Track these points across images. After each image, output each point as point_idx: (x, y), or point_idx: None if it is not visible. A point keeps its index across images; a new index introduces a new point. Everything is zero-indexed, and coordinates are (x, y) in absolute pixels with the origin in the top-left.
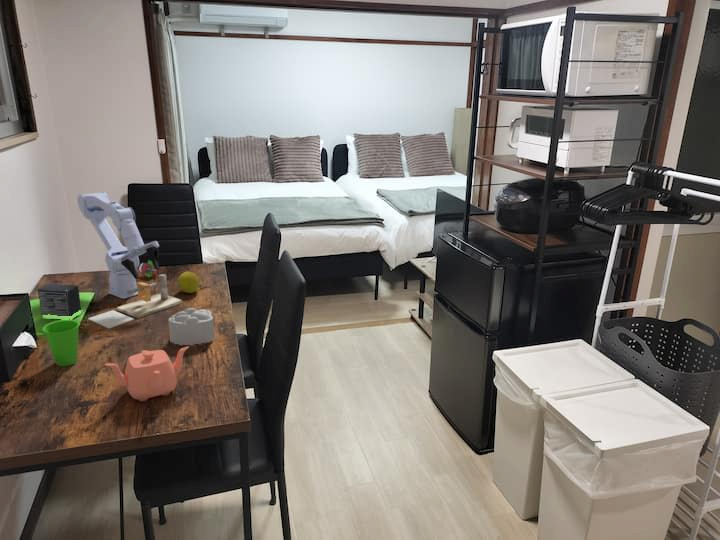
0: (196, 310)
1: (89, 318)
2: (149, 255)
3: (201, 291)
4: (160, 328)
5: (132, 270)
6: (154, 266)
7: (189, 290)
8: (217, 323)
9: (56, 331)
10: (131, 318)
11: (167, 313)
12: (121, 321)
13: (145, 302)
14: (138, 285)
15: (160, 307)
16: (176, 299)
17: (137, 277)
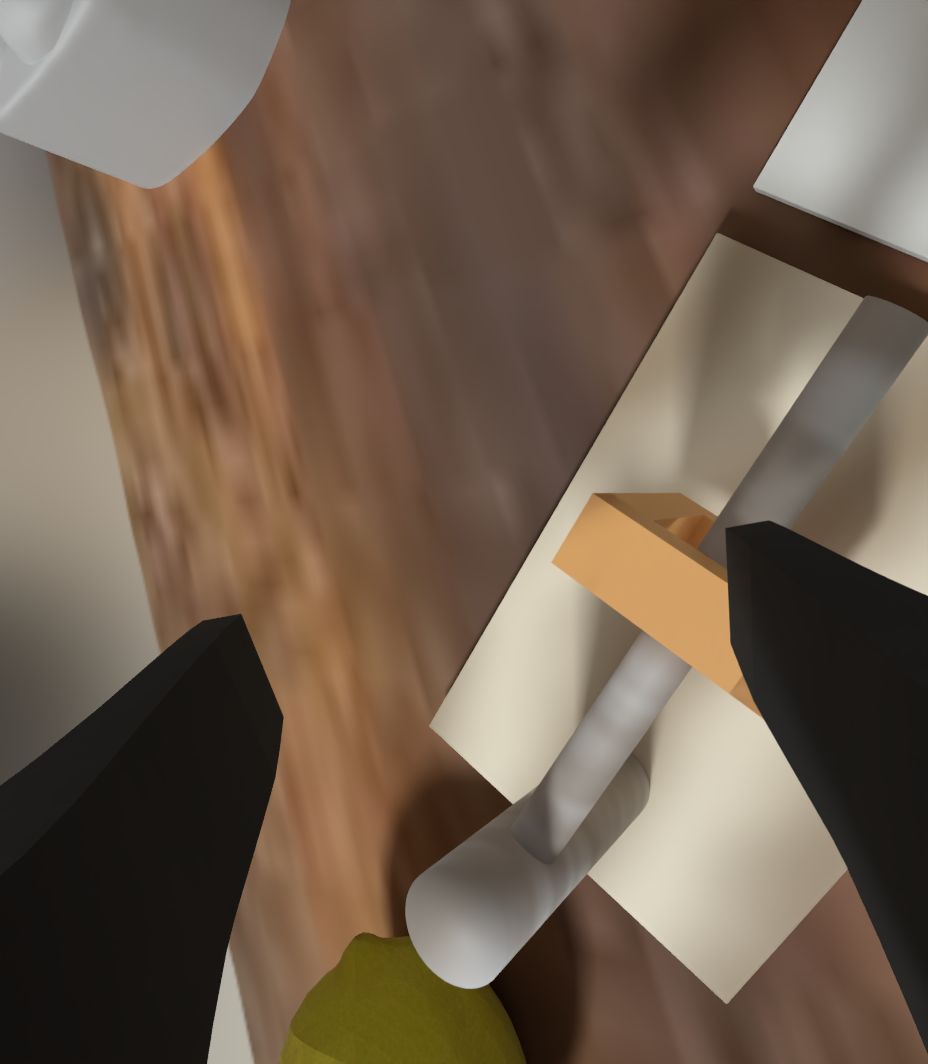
0: (23, 72)
1: None
2: (18, 849)
3: None
4: (427, 91)
5: (823, 606)
6: (211, 636)
7: (402, 938)
8: (131, 314)
9: None
10: (788, 180)
11: (484, 437)
12: (882, 53)
13: None
14: None
15: (561, 514)
16: (483, 750)
17: (732, 585)
